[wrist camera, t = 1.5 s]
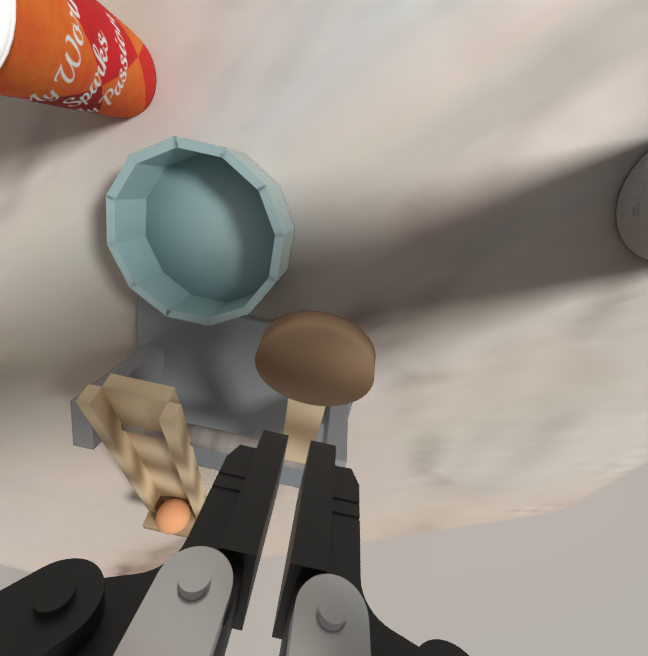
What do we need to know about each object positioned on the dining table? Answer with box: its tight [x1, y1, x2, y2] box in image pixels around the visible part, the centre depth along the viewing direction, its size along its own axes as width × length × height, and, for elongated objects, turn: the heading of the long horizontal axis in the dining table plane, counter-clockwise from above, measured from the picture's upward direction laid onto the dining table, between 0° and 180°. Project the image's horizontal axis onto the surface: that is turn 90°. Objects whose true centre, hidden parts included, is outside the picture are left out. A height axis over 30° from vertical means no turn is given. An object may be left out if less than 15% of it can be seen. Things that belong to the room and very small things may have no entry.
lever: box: [76, 311, 376, 538], centre depth 25 cm, size 30×16×4 cm, turn 169°
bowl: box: [106, 136, 295, 326], centre depth 27 cm, size 12×12×5 cm
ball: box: [156, 498, 190, 534], centre depth 34 cm, size 3×3×3 cm
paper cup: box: [0, 0, 156, 118], centre depth 19 cm, size 8×8×14 cm
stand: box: [70, 295, 352, 488], centre depth 30 cm, size 17×20×10 cm
